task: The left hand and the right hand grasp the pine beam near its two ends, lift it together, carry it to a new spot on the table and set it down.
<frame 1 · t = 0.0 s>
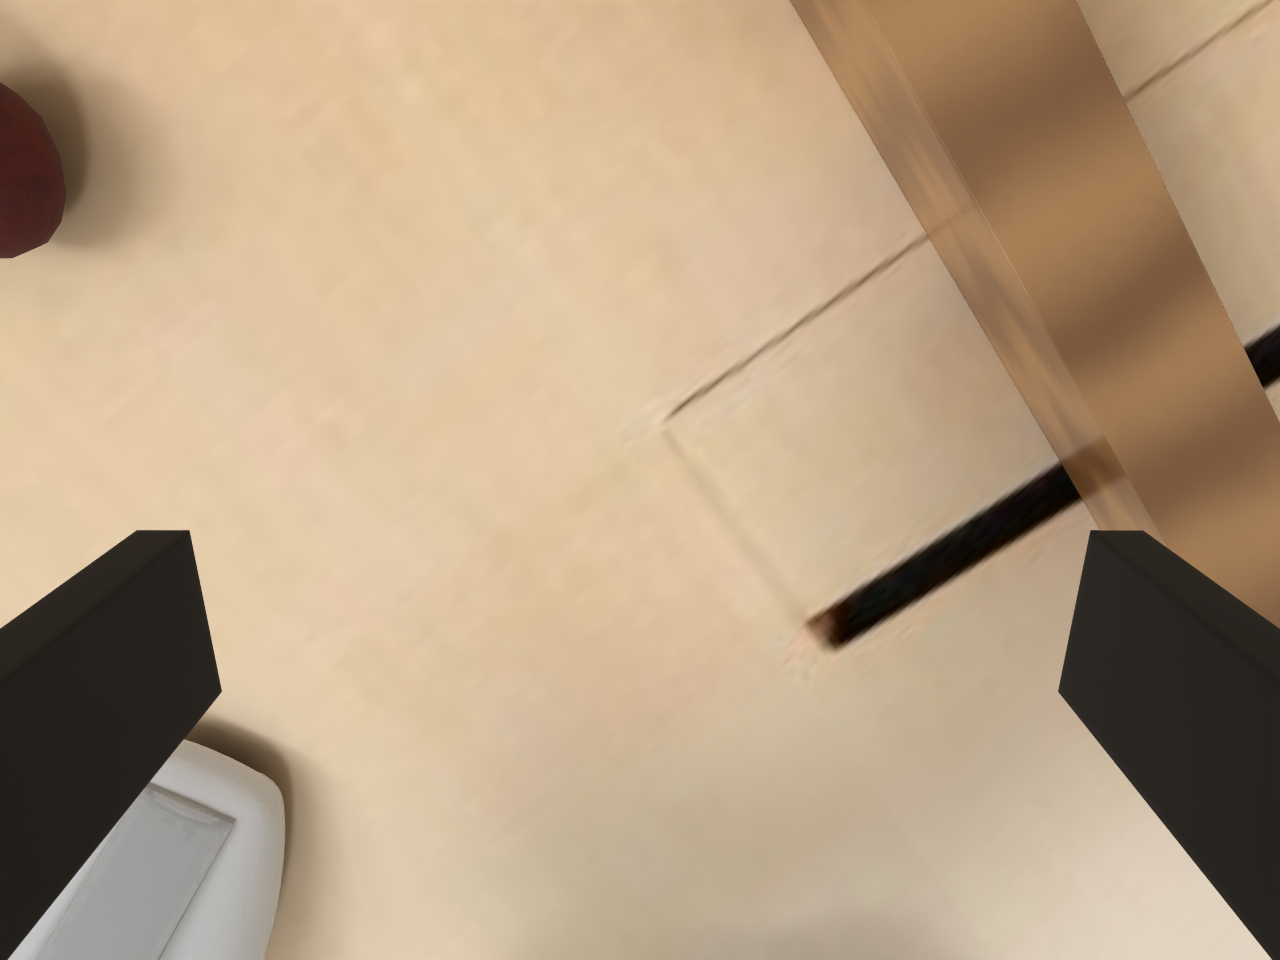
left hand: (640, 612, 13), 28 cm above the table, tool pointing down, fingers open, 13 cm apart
dark red round piece: (18, 164, 37), on the table
beam: (1097, 402, 40), on the table
projector: (158, 873, 50), on the table
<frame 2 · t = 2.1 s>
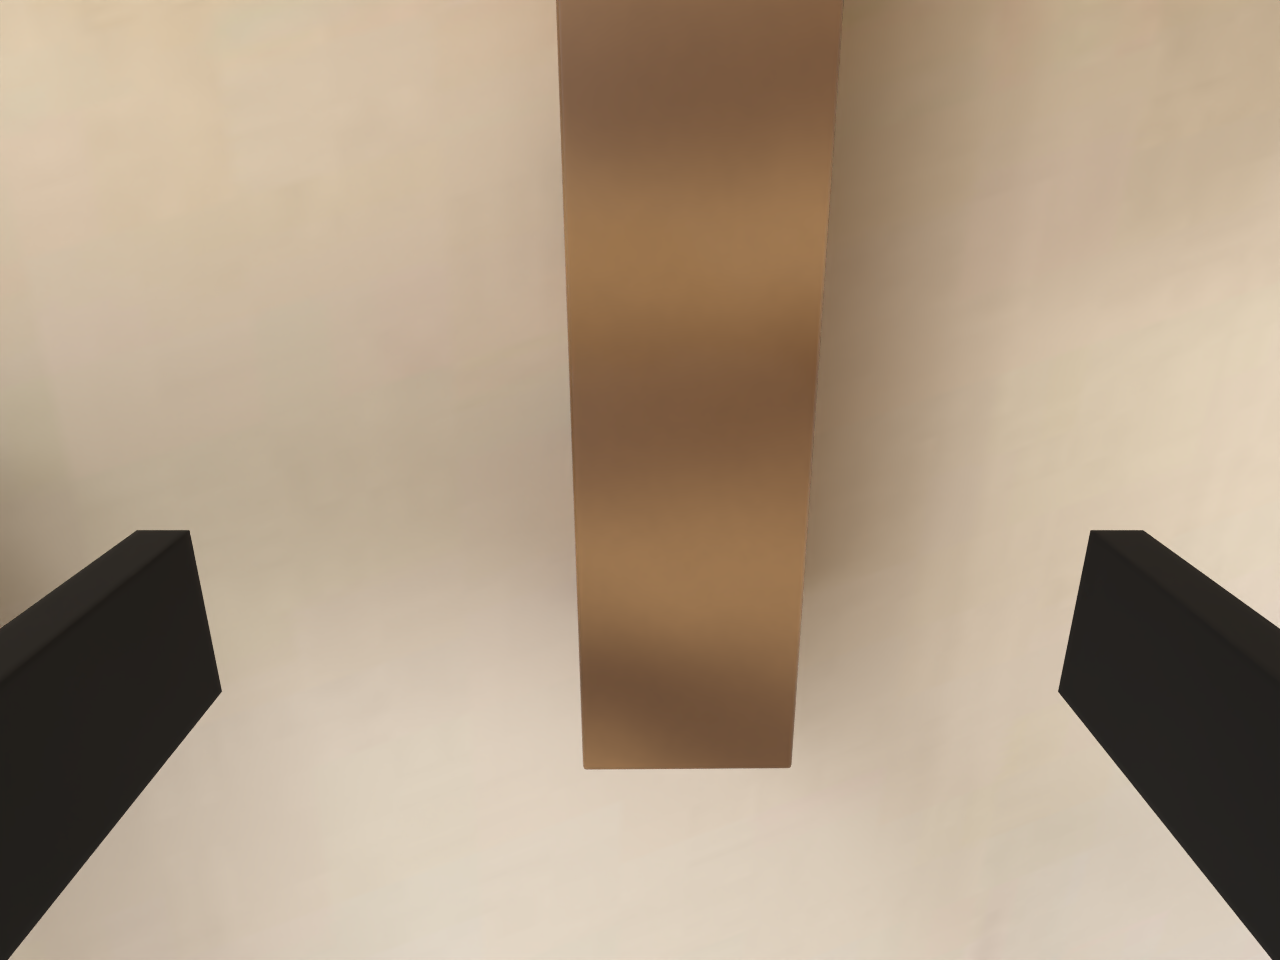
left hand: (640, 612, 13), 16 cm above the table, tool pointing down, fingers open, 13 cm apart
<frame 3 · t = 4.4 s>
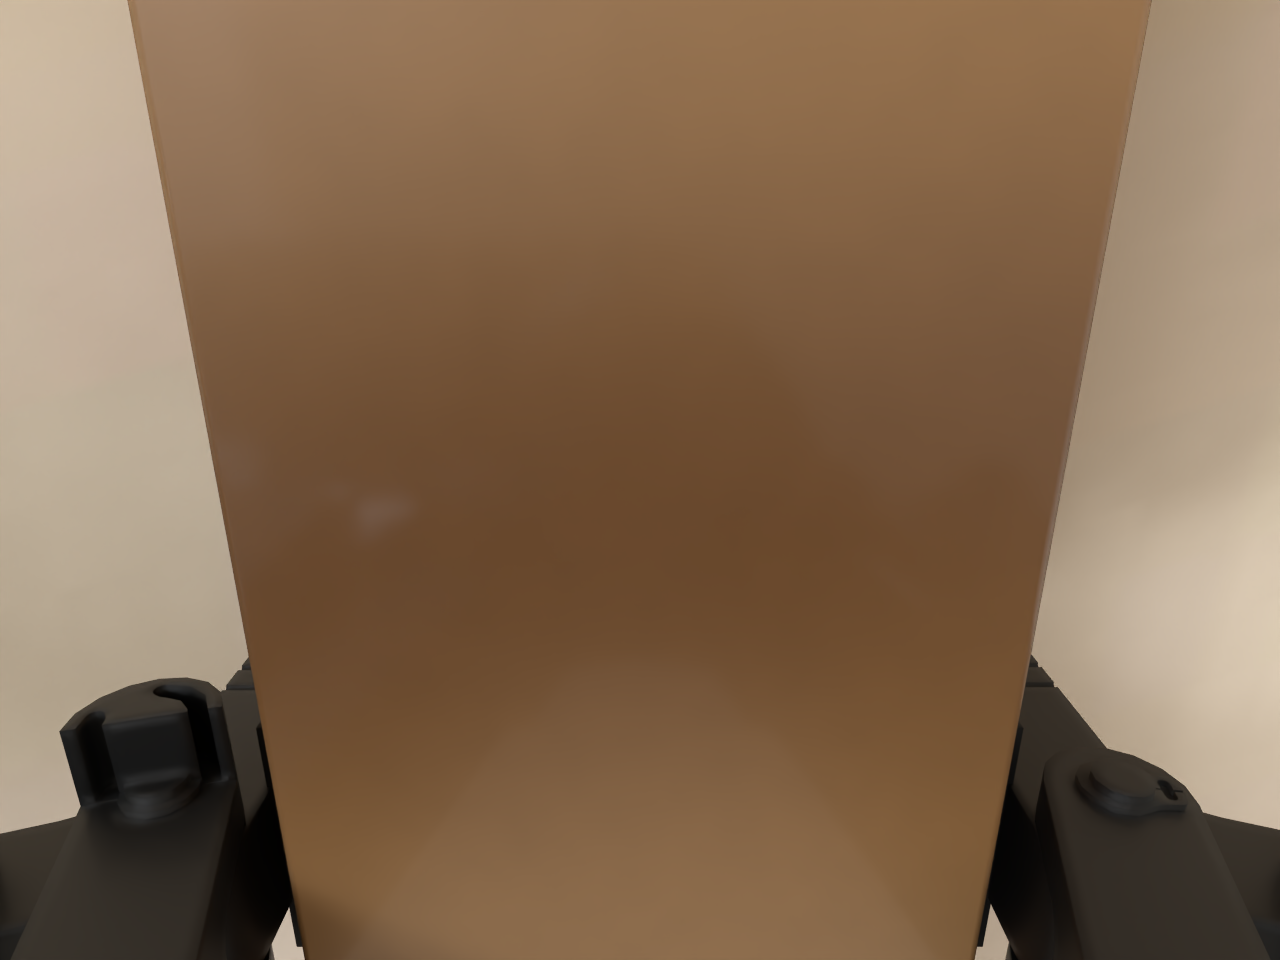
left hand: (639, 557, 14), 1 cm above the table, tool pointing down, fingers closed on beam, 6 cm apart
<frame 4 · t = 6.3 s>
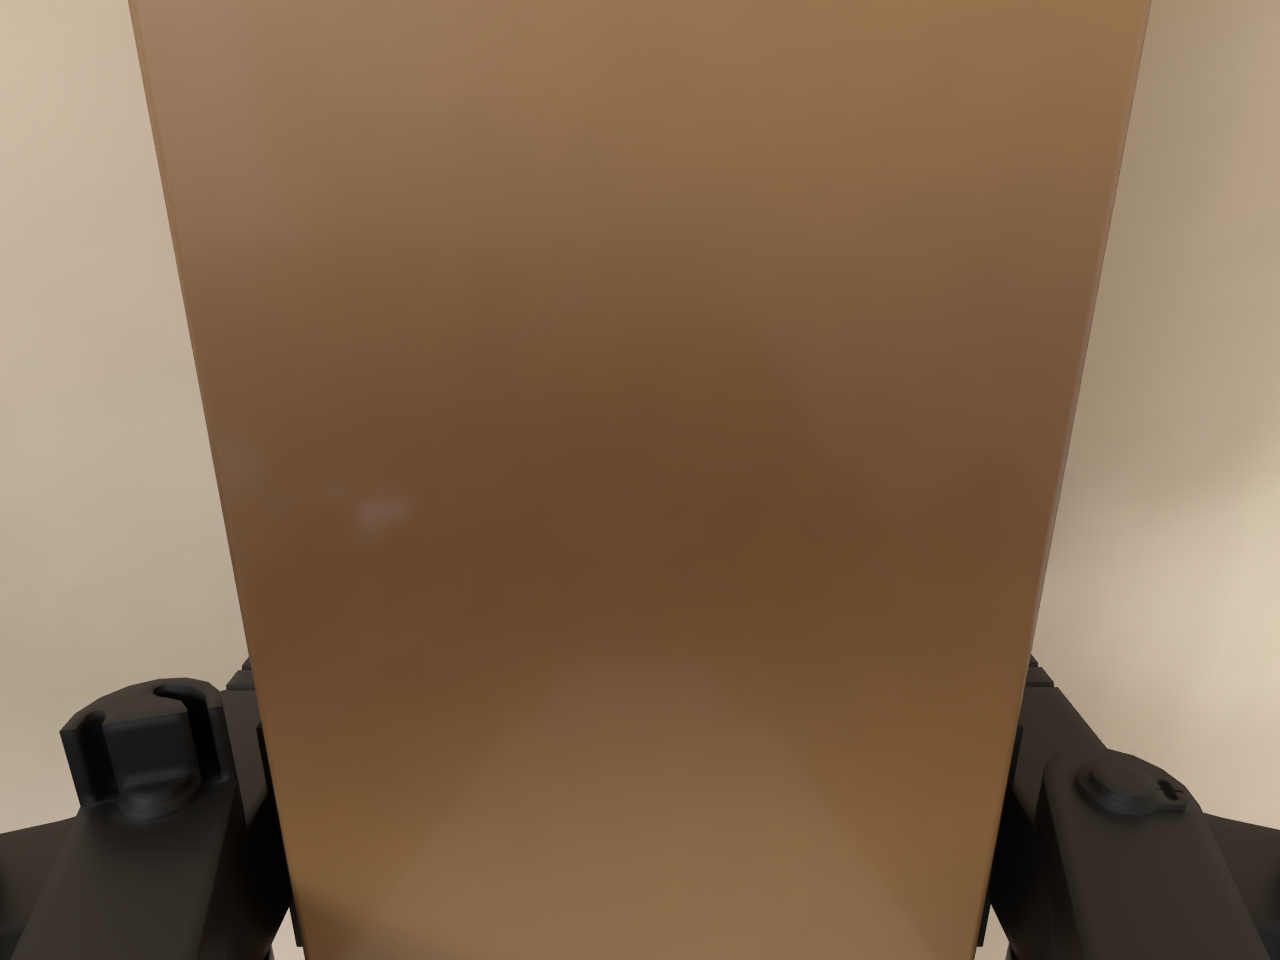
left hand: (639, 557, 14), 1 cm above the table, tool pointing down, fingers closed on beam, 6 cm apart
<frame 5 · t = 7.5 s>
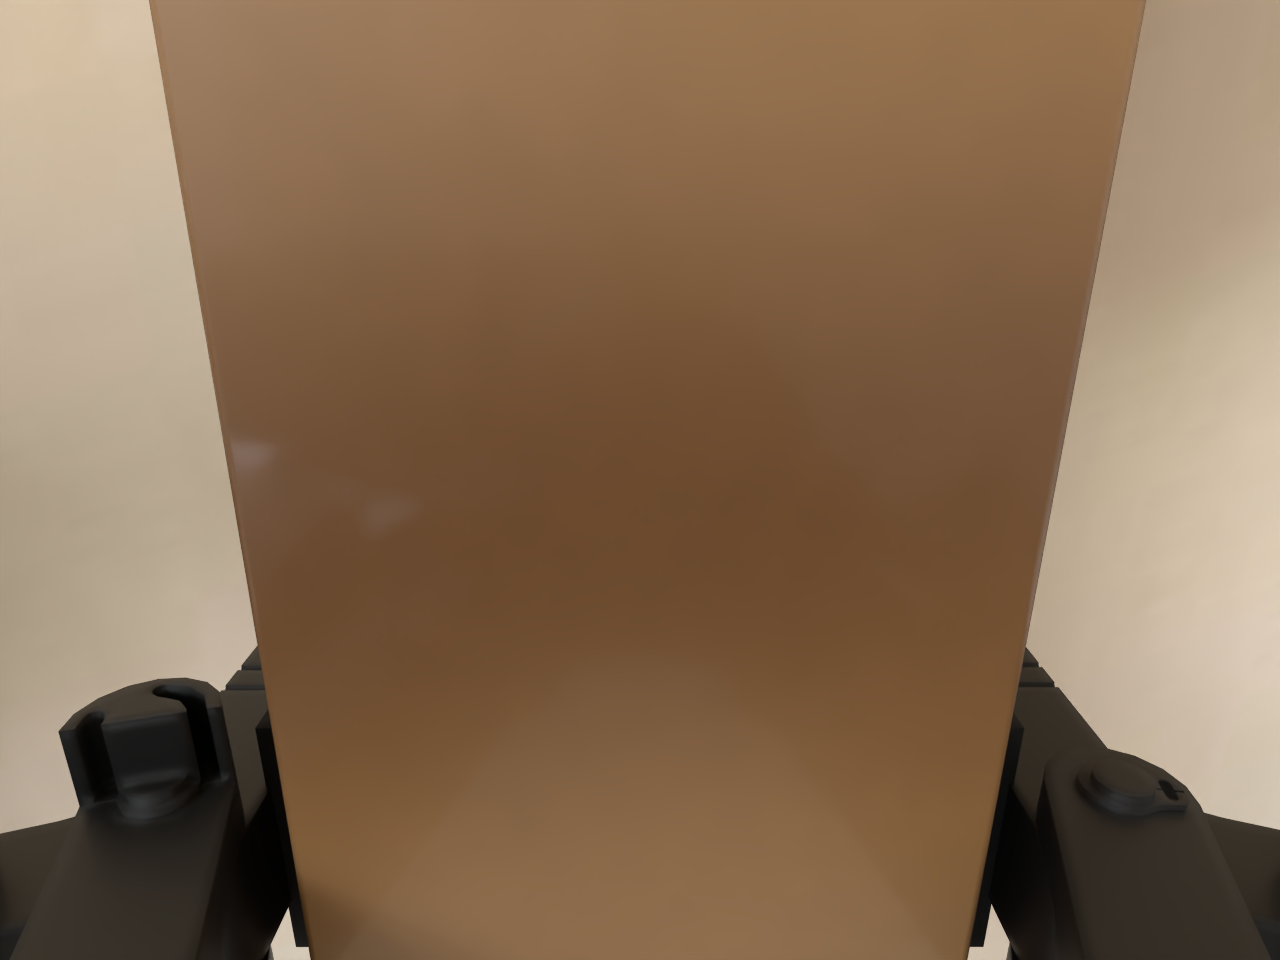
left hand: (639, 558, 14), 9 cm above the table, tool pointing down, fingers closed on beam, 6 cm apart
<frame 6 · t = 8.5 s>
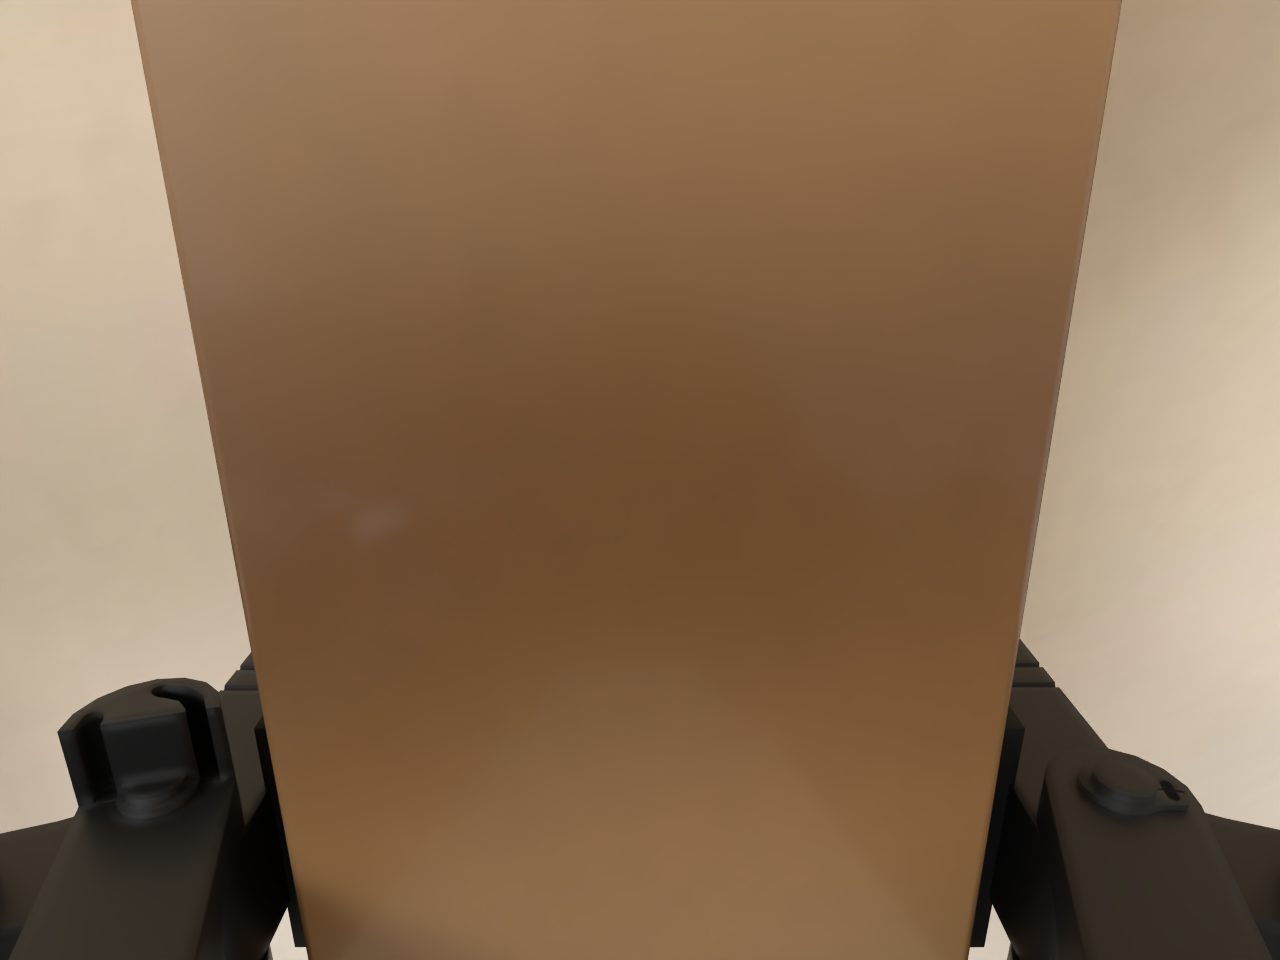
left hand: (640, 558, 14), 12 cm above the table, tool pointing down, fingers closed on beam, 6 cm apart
when the left hand's fingers open (2 cm above the table, at t = 10.9 s): beam drops 2 cm, on the table.
when the right hand's fingers open (5 cm above the table, at t = 11.1 s): beam stays where it is, on the table.
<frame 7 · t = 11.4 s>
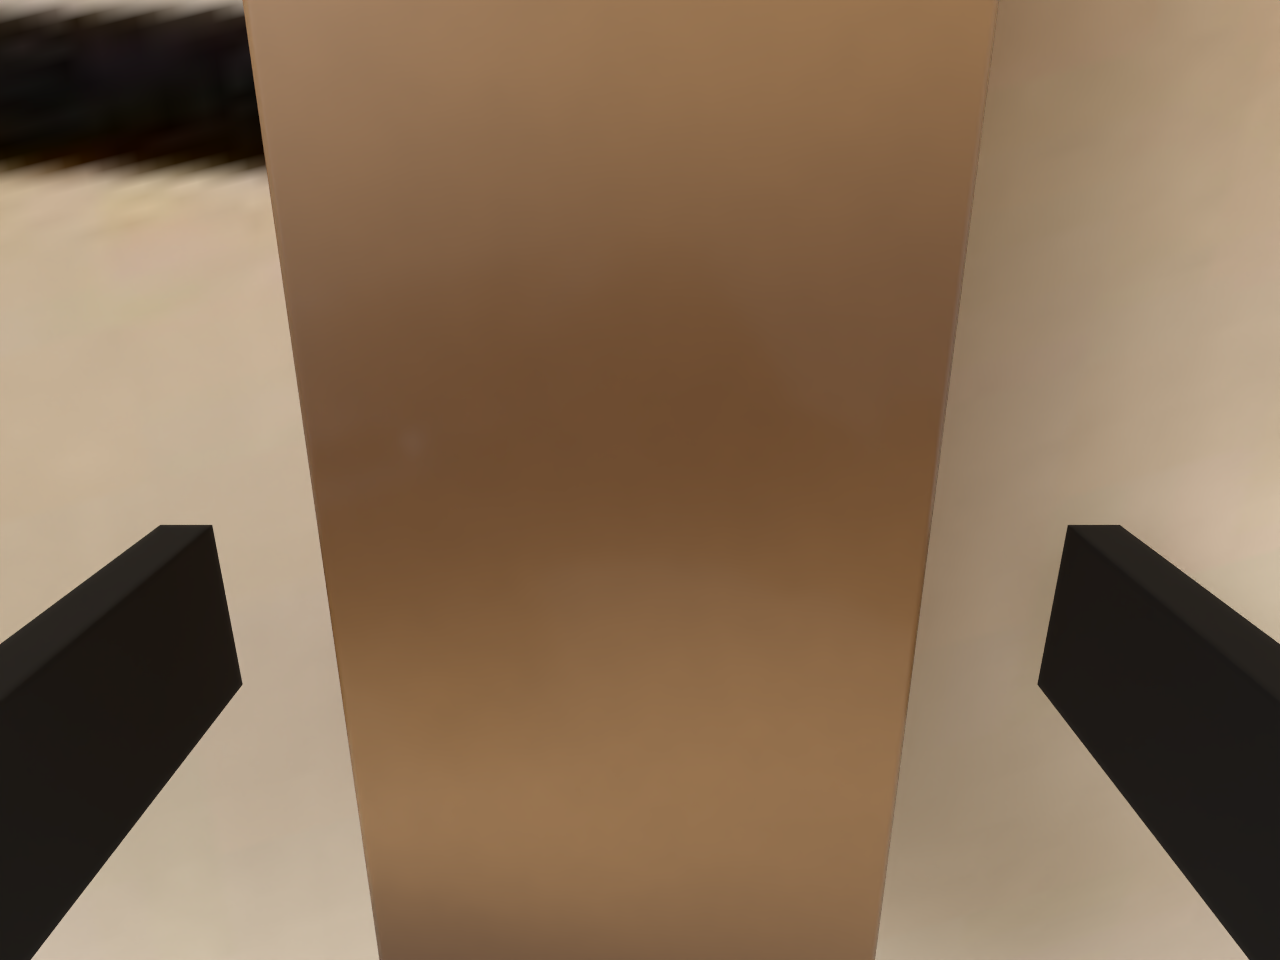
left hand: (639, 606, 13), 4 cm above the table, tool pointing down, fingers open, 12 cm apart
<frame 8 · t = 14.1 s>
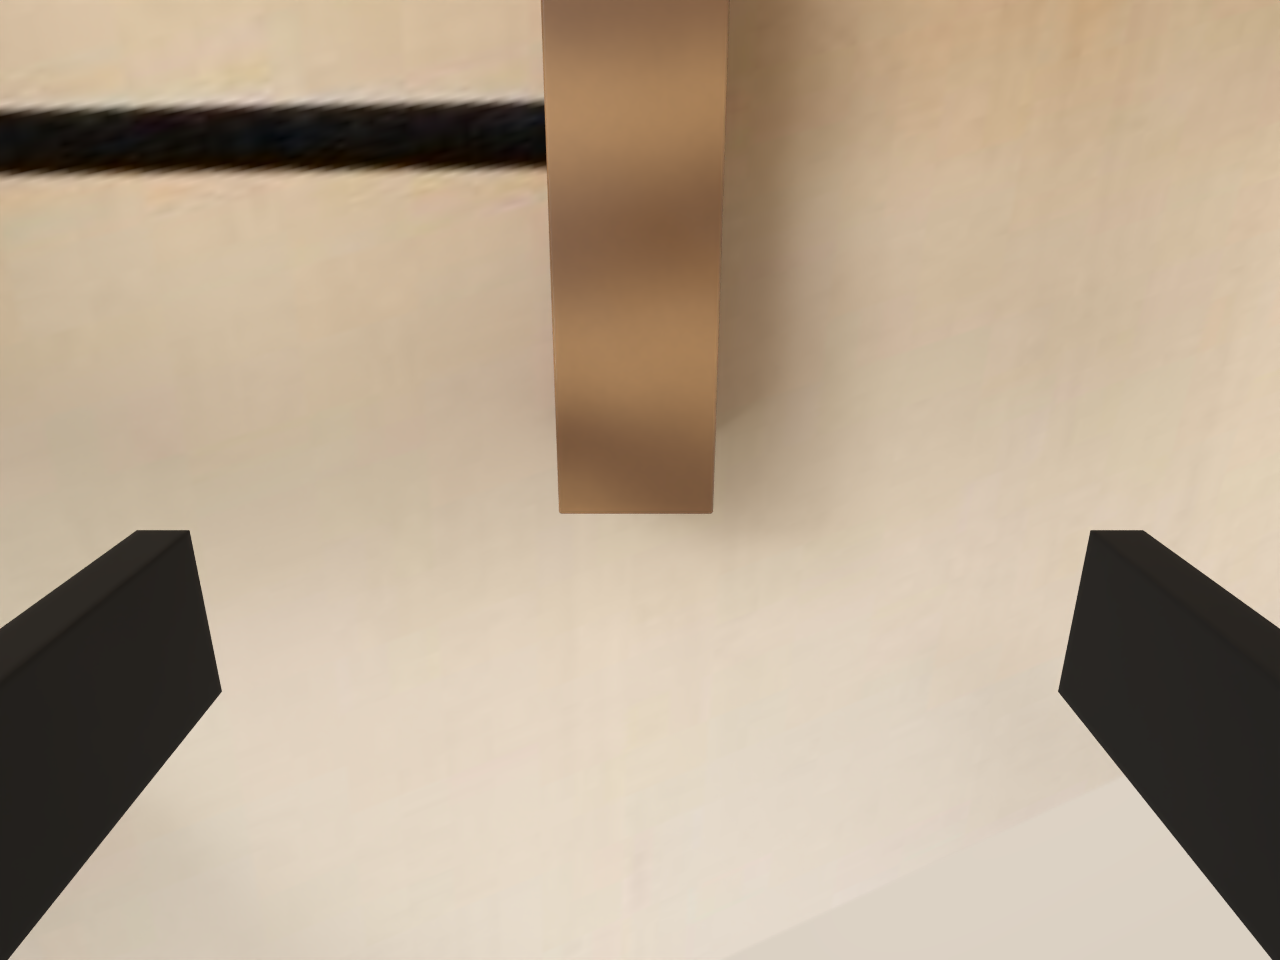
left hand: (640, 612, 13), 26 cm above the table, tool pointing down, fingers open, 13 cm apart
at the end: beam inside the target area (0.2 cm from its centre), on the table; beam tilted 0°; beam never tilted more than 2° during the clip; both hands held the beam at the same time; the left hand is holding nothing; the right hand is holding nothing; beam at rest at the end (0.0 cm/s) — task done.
